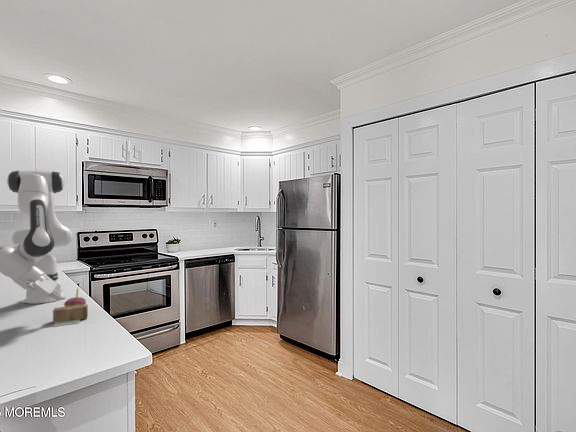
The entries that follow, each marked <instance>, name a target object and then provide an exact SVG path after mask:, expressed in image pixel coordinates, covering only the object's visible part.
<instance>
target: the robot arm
mask: <svg viewBox="0 0 576 432" xmlns="http://www.w3.org/2000/svg"><path fill="white" fill-rule="evenodd" d="M6 183H7V186H8V188H9V190H10V191H12V192H13V193H17V205H18V209H19V211H20V212H22V213H23V214H25V215H27V216H28V218H29V227H23V228H17V229H16V230H15V231H14V232H13V234H12V236H11V237H12V239H11V240H12V241H11V242H12V243H13V244H12V245H2V246H0V273H1V275H3V276H5V277H8V278H10V279H11V280H12V281H13V282H14V283H15V284H17V285H18V286H19V287H21V288H22V289H24V290H26V291H25V299H22V300H21V303H22V304H33V305H35V304H46V303H51V302H59V301H60V300H63V299H67V298H66V297H67V296H66V294H65V293H64V292H63V289H62V283H61V282H60V281H59V280H58V279H59V274H58V269H57V268H58V267H57V266H58V265H57V262H58V261H57V258H56V257H55V256H54V255H52V254H49V253H50V252H52V250H53V249H54V248H60V247H65V246H68V245H70V244H71V242H73V241H72V240H73V238H74V237H73V232H72V230H71V229H70V228H69V227H67V226H65V225H64V224H62V223H61V222H60V221H59V219H58V218H57V215H56V214H57V213H56V210H55V200H54V194H57V193H61V192H62V191H63V190H64V187H65V184H66V182H65V178H64V176H63V174H61V172H58V171H49V170H48V171H47V170H38V169H37V170H22V171H21V170H15V171H11V172H10V173H9V174H8V175H7V178H6Z"/></svg>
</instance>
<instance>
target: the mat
mask: <svg viewBox="0 0 576 432" xmlns="http://www.w3.org/2000/svg"><path fill="white" fill-rule="evenodd" d="M81 320H82V319H79V320H72V321H64V322H57V323H53V325H52V327H61V326H68V325H75V324H76V325H77V324H80V323H81Z"/></svg>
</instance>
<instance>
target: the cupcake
mask: <svg viewBox="0 0 576 432" xmlns="http://www.w3.org/2000/svg"><path fill="white" fill-rule="evenodd" d="M75 292H76V294H75V296H76V297H71V298H68V299H67V300H66V301H64V303H63V305H64V306H63V307H68V306H76V305H85V304H87V301H86V299H85V298H84V297H82V296H79V288H76V291H75Z"/></svg>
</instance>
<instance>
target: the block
mask: <svg viewBox="0 0 576 432" xmlns="http://www.w3.org/2000/svg"><path fill="white" fill-rule="evenodd" d="M88 306H89V305H88V303H86V304H85V305H76V306H68V307H65V306H60V307H54V309H53V310H52V323H53V324H55V323H57V322H64V321H72V320H79V319H81V320H85V319H88V317H89V316H88V315H89V310H88V309H89V307H88Z"/></svg>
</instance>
